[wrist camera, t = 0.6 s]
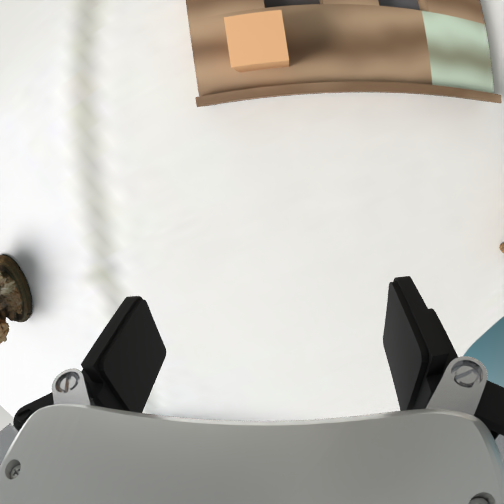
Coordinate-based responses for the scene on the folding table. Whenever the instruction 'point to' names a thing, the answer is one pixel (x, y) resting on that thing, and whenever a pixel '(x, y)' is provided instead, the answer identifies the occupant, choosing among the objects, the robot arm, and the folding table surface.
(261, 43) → the block
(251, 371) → the folding table surface
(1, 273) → the brown lumpy sculpture
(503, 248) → the lion figurine
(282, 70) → the box
